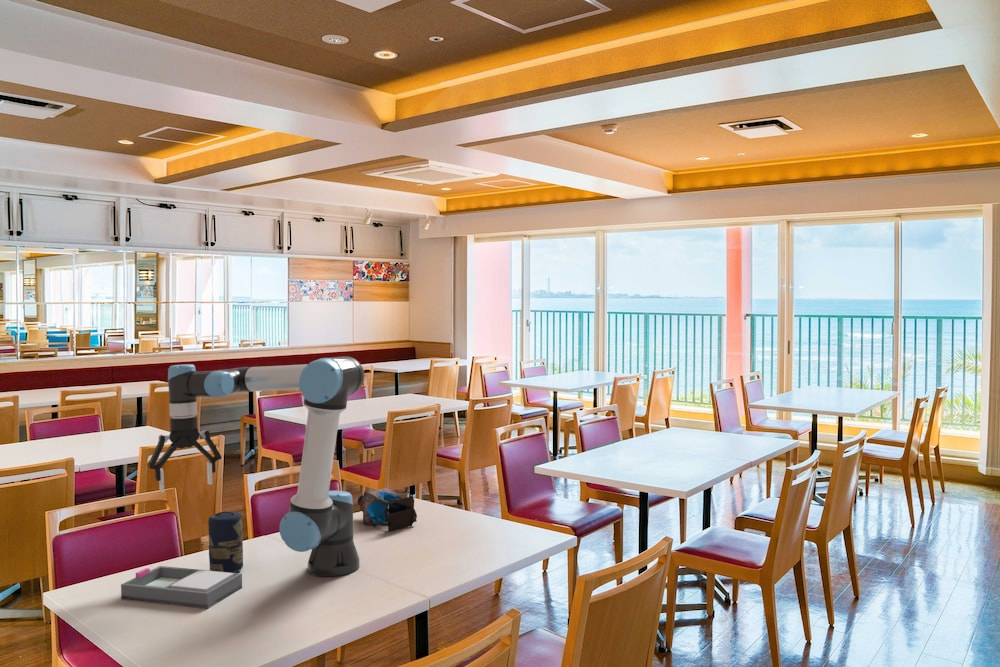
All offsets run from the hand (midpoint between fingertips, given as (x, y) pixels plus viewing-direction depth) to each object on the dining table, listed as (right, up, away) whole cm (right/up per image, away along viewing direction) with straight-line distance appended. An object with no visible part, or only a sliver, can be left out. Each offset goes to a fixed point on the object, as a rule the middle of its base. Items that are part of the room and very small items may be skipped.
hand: (186, 487), depth 220 cm
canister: (+12, -25, 0) cm, 28 cm away
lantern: (+51, -23, +48) cm, 74 cm away
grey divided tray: (+6, -25, -17) cm, 31 cm away
